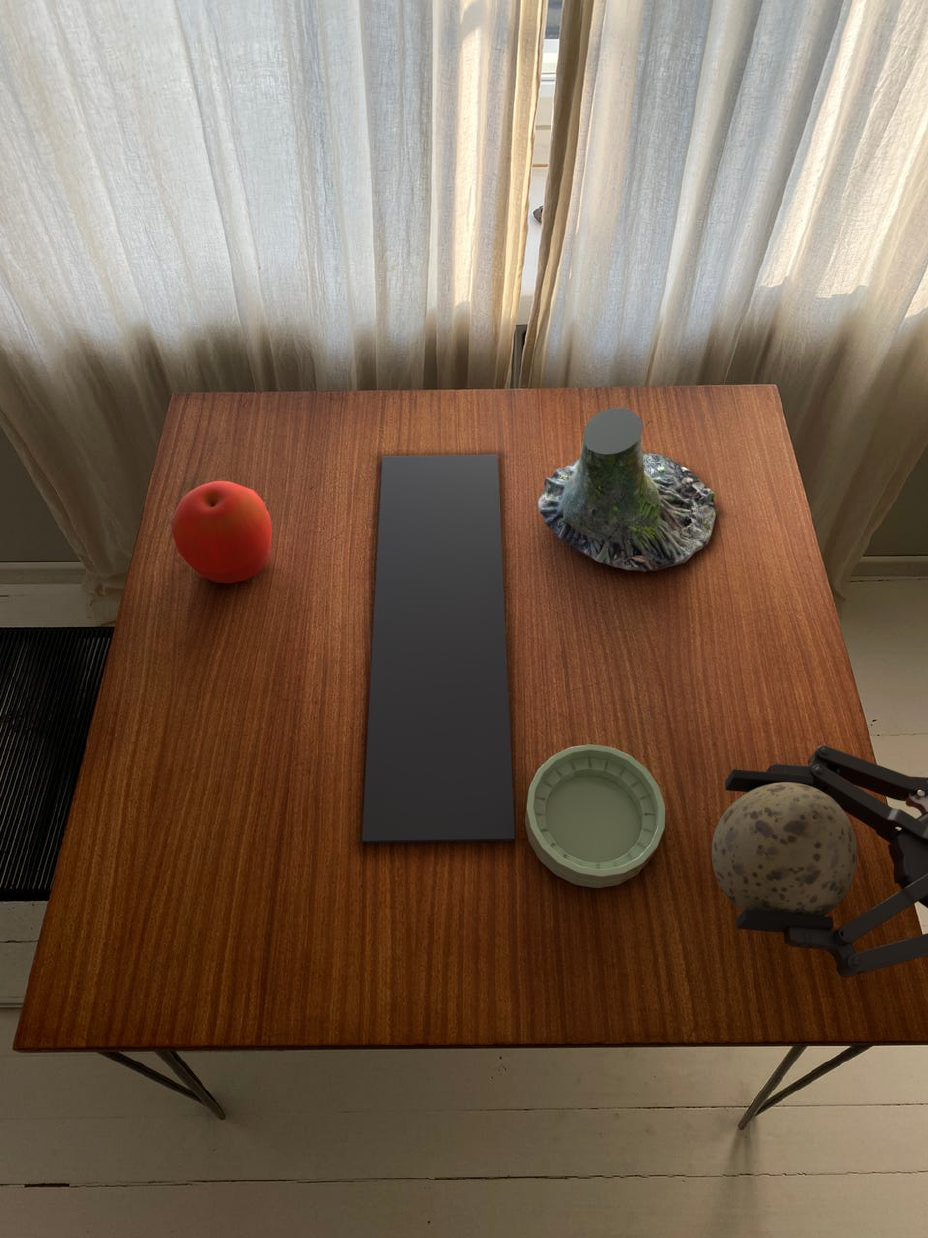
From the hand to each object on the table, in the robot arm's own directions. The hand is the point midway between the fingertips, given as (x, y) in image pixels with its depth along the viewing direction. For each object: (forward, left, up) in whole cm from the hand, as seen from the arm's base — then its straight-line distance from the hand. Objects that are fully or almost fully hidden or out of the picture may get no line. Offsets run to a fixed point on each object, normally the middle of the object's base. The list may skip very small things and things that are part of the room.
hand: (734, 846), depth 70 cm
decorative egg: (+3, -3, -8) cm, 9 cm away
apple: (-8, +59, -9) cm, 60 cm away
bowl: (-3, +11, -9) cm, 15 cm away
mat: (+2, +37, -9) cm, 38 cm away
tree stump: (+28, +32, -9) cm, 43 cm away
